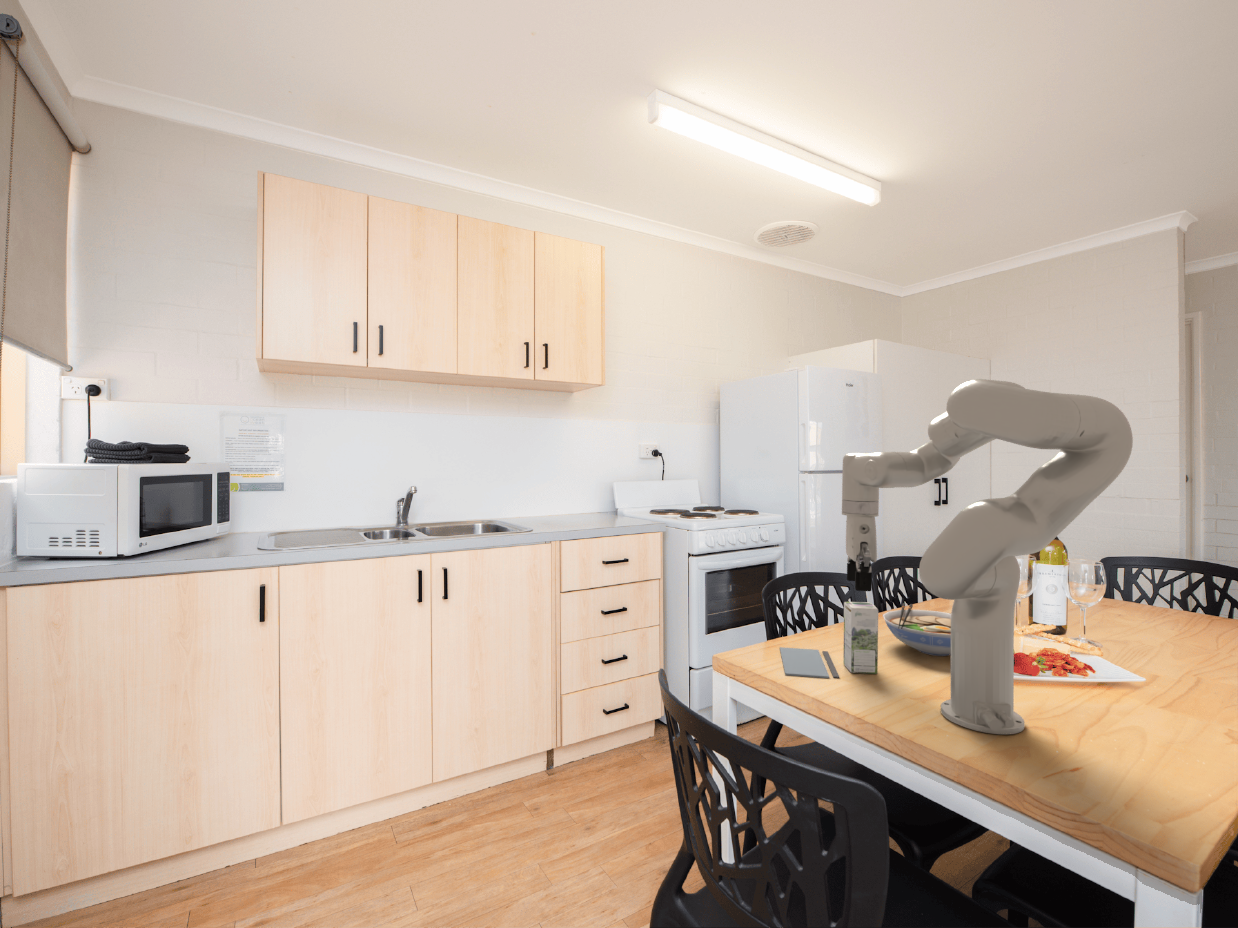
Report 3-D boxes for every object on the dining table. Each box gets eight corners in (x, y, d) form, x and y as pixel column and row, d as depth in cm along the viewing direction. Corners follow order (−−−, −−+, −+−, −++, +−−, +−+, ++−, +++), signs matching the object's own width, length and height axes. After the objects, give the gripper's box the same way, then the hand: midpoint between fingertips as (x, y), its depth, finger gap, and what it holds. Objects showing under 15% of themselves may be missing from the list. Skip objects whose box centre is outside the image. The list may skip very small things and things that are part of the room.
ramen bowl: (991, 676, 123) (991, 638, 123) (875, 657, 135) (875, 622, 135) (988, 645, 145) (988, 612, 145) (888, 631, 157) (888, 601, 157)
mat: (829, 678, 122) (829, 676, 122) (785, 674, 124) (785, 673, 124) (818, 651, 140) (818, 649, 140) (779, 648, 142) (779, 647, 142)
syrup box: (869, 665, 130) (869, 601, 130) (878, 674, 124) (878, 607, 124) (843, 664, 131) (843, 600, 131) (851, 673, 125) (851, 606, 125)
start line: (839, 678, 122) (839, 676, 122) (833, 677, 122) (833, 676, 122) (827, 652, 139) (827, 651, 139) (822, 652, 139) (822, 650, 139)
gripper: (888, 513, 118) (886, 596, 119) (869, 505, 135) (868, 578, 136) (849, 511, 120) (847, 593, 120) (835, 504, 137) (834, 576, 137)
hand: (858, 585), depth 128 cm, fingers open, 9 cm apart
